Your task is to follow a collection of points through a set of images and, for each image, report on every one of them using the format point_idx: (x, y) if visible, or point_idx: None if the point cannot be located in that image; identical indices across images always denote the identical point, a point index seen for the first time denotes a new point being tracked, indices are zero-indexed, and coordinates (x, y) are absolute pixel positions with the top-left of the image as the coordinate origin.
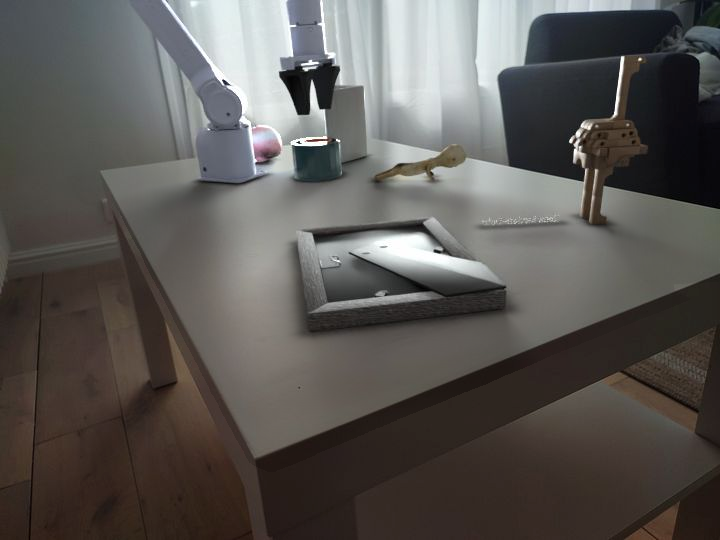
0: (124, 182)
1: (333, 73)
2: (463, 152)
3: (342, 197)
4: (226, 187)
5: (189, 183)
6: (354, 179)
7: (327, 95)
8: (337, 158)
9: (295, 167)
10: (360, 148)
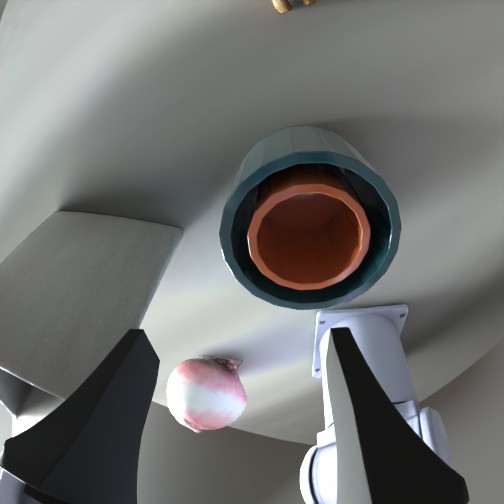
0: None
1: (61, 459)
2: None
3: (468, 37)
4: (425, 309)
5: None
6: (306, 69)
7: (122, 383)
8: (307, 136)
9: None
10: (64, 222)
